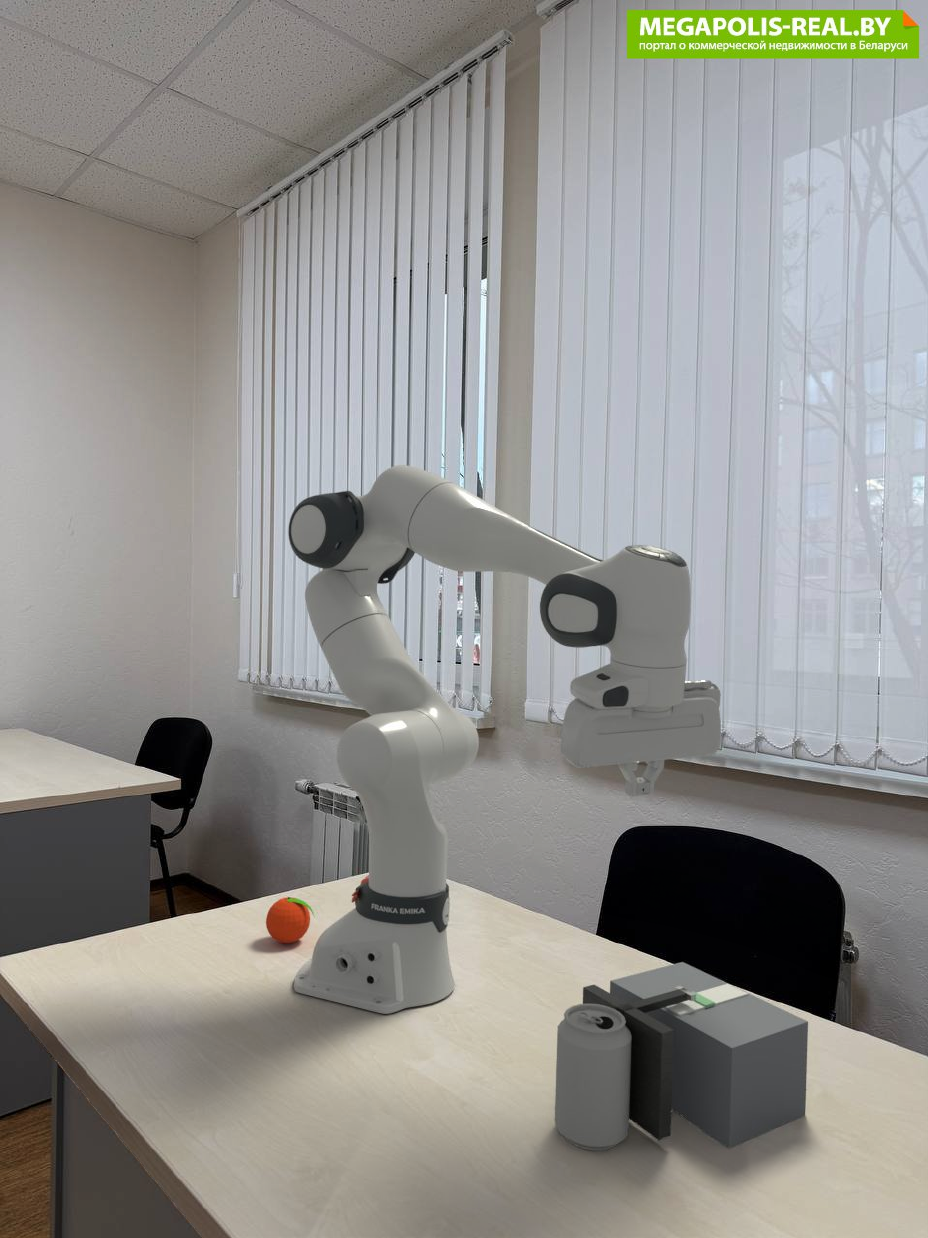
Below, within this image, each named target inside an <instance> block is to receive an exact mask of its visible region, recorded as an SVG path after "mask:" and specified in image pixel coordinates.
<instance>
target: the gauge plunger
mask: <svg viewBox="0 0 928 1238" xmlns="http://www.w3.org/2000/svg"><path fill="white" fill-rule="evenodd" d="M688 1000H690V1001H693V1000H696V994H695V993H693V992H691V991H689V990H687V989H685V988H683V987H681V986H677V987H675V990H674V991H671V992H667V993H664V994H660V995H657V996H653V997H650V998H646V999H642V1000H639V1001H635V1002H632V1003H626V1002H624V1001H622V1000H621V999H619V998H617V997H615V996H614V995H612V994H610V992H608V991H607V990H605V989H603V988H602V987H600V986H598V985H596V984H591V985H586V986H584V987H582V1004H599V1005H604V1006H607V1007H610V1008H613V1009H615V1010H617V1011H618V1012H620V1013H621V1014H622V1015H623V1016H624V1017H625V1021H626V1023H625V1026H626V1027H627V1028H628V1029H629V1031H630V1033H631V1036H632V1041H631V1073H630V1106H629V1120H630V1121H632V1122H633V1123H635V1124H636V1125H637V1126H639V1128H641V1129H643V1130H644V1131H646V1132H647V1133H648V1134H650V1135H651V1136H652V1137H654V1138H655V1139H656V1140H658V1141H660V1140H663V1139H666V1138H669V1137H670V1136H671V1134H672V1133H671V1132H672V1131H671V1128H672V1109H671V1103H672V1070H673V1038H674V1030H673V1029H671V1028H669V1027H668V1026H666V1025H664V1024H663V1023H661V1022H659V1021H657V1020H656V1019H654V1018H652V1017H650V1016H649V1015H647V1014H645V1013H647V1012H650V1011H654V1010H657V1009H660V1008H664V1007H667V1006H671V1005H674V1004H677V1003H681V1002H684V1001H688Z"/></svg>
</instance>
